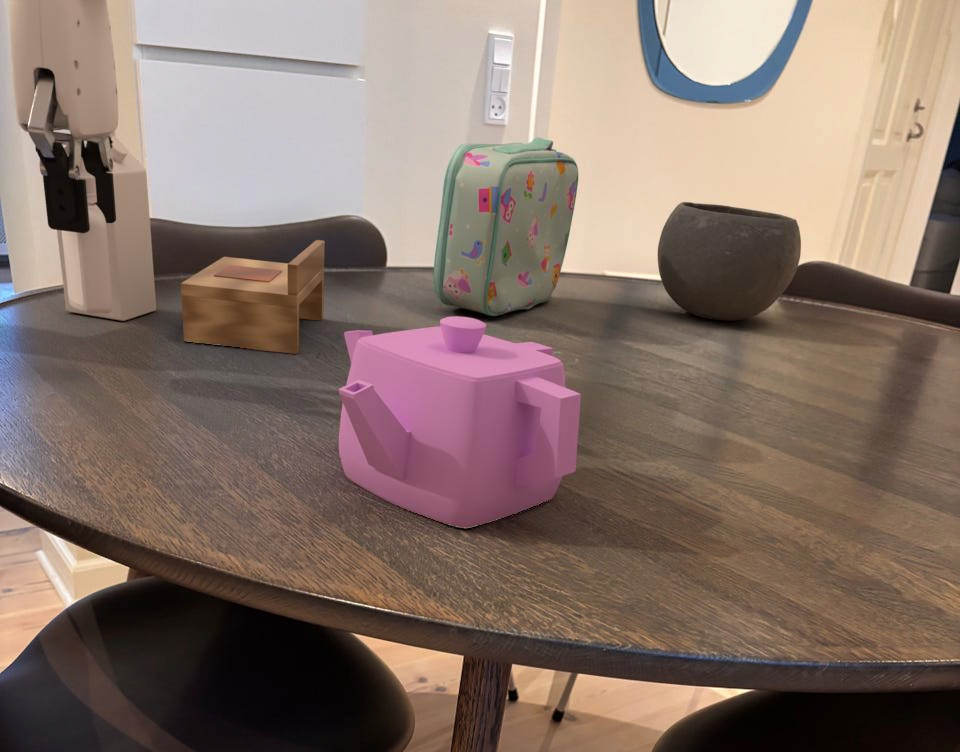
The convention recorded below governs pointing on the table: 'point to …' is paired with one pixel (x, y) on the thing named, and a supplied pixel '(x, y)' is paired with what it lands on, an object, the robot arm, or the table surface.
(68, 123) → the robot arm
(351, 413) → the teakettle
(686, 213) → the bowl
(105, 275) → the eye dropper bottle
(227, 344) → the wooden toy chair
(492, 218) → the lunch box
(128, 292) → the milk carton
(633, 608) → the table surface
